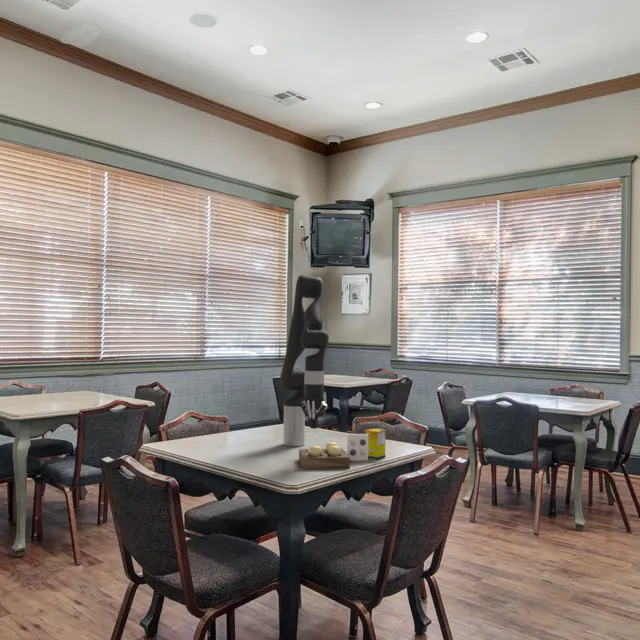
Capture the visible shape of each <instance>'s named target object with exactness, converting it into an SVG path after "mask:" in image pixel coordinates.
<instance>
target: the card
mask: <svg viewBox="0 0 640 640" xmlns="http://www.w3.org/2000/svg"><path fill="white" fill-rule="evenodd" d="M346 442H347V443H346V444H347V445H346V446H347V451H346V453H347V455H348V456H349V457H350V460H352V461H369V458H368V434H365V433H347V441H346Z"/></svg>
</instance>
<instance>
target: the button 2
mask: <svg viewBox="0 0 640 640" xmlns="http://www.w3.org/2000/svg"><path fill="white" fill-rule="evenodd" d="M309 449H310V456H312V457H316V456H321V449H322V447H321V446H320V445H311V446H309Z"/></svg>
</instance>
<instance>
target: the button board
mask: <svg viewBox="0 0 640 640" xmlns="http://www.w3.org/2000/svg"><path fill="white" fill-rule="evenodd" d="M309 449H310V448H299V449H298V461H299V460H300V461H299V463H300V465H301V467H302V470H329V469H330V470H337V469H338V468H348V469H351V465H350V464H351V463H350V462H351V461H350V457H349V456H348V455H347V451H345V450H344V449H343V448H340V456H329V453H328V452H326V448H321V456H316V457H312V456H310V453H308V450H309ZM333 468H334V469H333ZM336 468H337V469H336Z"/></svg>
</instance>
